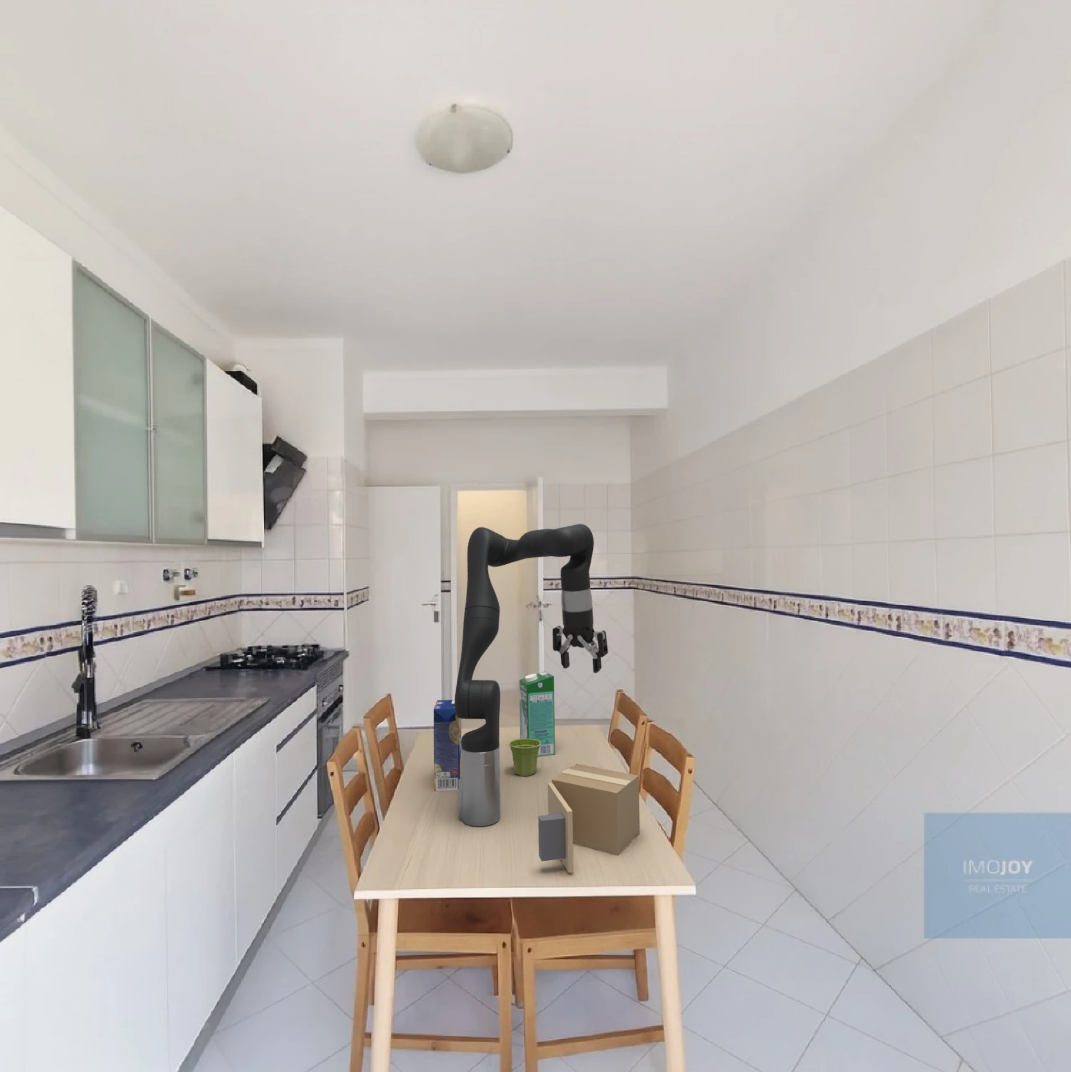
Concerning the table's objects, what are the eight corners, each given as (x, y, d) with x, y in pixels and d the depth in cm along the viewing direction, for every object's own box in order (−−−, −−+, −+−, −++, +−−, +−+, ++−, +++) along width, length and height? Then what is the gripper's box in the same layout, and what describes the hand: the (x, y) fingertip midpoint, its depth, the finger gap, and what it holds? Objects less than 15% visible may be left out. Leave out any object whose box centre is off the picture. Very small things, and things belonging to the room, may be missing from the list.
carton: (552, 837, 140) (551, 778, 140) (577, 818, 150) (576, 763, 151) (617, 855, 131) (617, 792, 132) (639, 833, 142) (638, 774, 142)
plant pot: (508, 767, 186) (508, 738, 186) (540, 766, 187) (539, 737, 187) (509, 779, 177) (509, 748, 177) (542, 777, 178) (542, 747, 178)
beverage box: (461, 776, 180) (460, 699, 180) (459, 790, 169) (458, 708, 169) (437, 777, 179) (437, 700, 180) (434, 791, 168) (433, 709, 169)
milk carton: (520, 749, 204) (519, 672, 205) (546, 746, 207) (545, 670, 207) (528, 757, 195) (527, 677, 196) (555, 754, 198) (554, 675, 199)
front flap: (526, 839, 138) (526, 785, 138) (552, 836, 139) (552, 782, 140) (543, 876, 122) (543, 814, 123) (573, 872, 124) (572, 811, 124)
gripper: (610, 604, 151) (613, 668, 154) (559, 600, 159) (563, 661, 161) (596, 612, 145) (600, 679, 147) (544, 608, 153) (548, 671, 155)
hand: (581, 669), depth 154 cm, fingers open, 8 cm apart
